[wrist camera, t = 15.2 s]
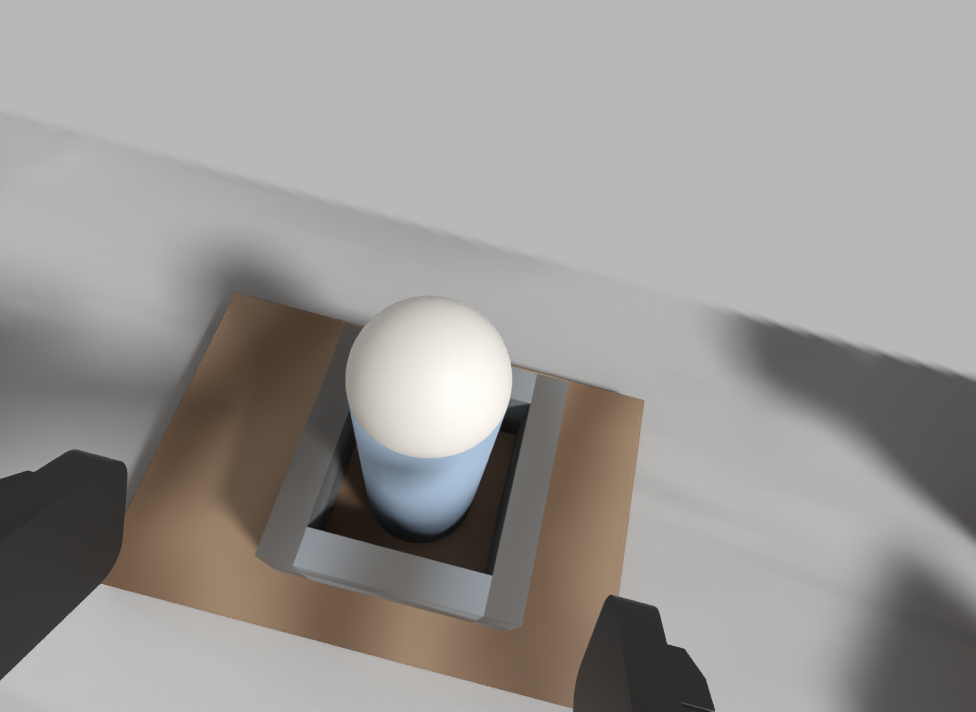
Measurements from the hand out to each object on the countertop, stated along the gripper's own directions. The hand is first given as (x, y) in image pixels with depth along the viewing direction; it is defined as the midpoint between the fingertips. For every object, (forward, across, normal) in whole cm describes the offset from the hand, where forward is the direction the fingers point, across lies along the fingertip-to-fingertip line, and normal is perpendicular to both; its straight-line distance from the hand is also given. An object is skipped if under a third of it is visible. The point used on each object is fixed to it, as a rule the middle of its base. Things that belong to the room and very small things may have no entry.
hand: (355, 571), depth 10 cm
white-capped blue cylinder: (+13, 0, +6) cm, 14 cm away
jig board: (+14, +1, +7) cm, 15 cm away
